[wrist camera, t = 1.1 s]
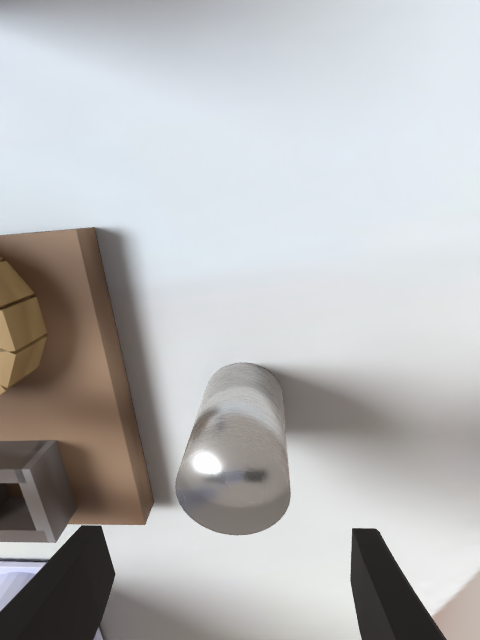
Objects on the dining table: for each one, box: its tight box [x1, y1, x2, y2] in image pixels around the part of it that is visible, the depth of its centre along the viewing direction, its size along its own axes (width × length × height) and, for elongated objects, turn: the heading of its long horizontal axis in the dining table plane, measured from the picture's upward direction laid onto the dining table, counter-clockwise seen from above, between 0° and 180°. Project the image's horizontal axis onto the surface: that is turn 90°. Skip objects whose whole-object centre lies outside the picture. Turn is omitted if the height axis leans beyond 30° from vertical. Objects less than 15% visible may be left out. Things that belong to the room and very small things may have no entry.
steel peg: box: [175, 363, 291, 535], centre depth 14 cm, size 4×4×6 cm
